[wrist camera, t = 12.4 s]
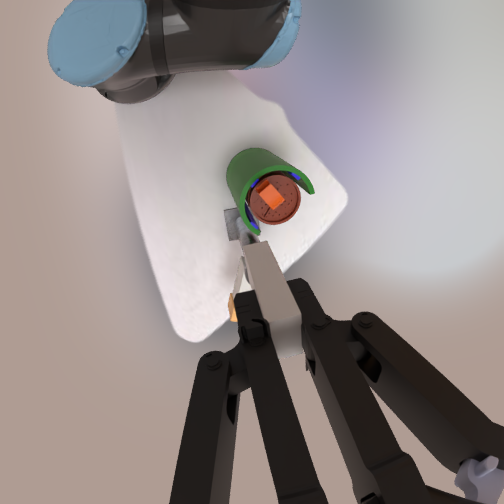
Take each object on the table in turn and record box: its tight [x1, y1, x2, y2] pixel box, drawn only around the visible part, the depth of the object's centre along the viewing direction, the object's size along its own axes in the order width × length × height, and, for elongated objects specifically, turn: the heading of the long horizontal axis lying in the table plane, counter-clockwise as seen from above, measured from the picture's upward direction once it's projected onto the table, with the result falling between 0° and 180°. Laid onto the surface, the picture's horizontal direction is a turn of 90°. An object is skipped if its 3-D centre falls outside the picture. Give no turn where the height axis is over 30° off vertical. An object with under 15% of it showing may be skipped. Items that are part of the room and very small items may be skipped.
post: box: [224, 206, 260, 284], centre depth 45 cm, size 6×6×18 cm
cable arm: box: [228, 256, 252, 321], centre depth 47 cm, size 3×10×5 cm, turn 167°
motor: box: [227, 148, 315, 235], centre depth 40 cm, size 10×9×20 cm
